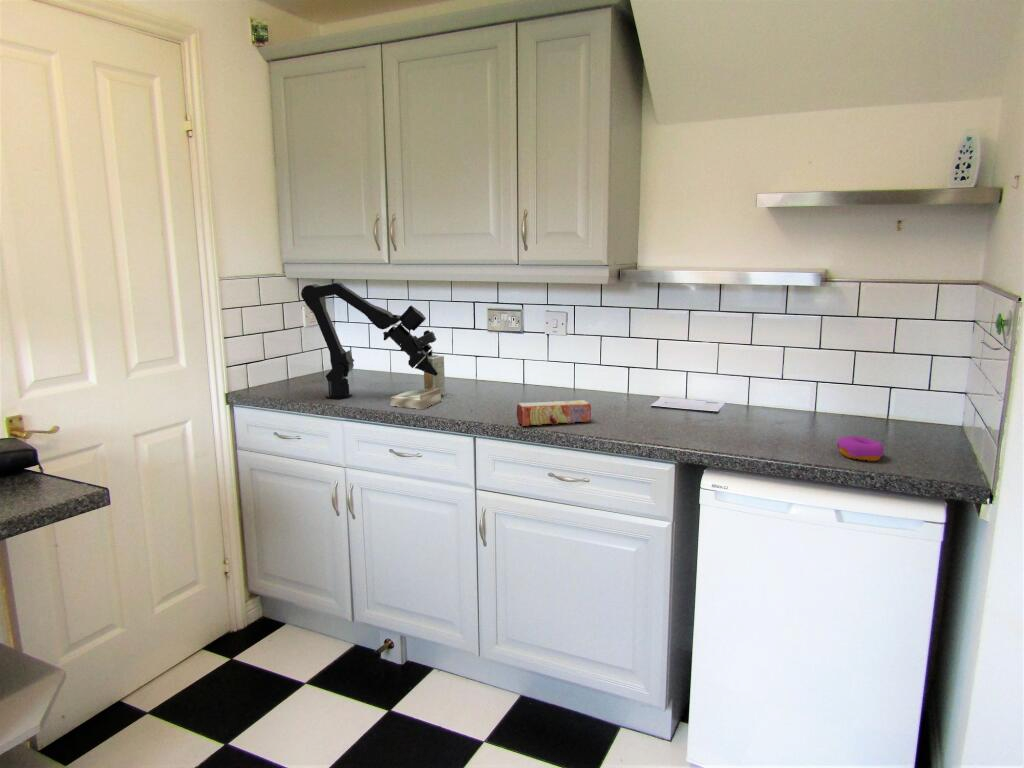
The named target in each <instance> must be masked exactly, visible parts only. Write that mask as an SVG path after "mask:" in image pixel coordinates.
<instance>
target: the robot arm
mask: <svg viewBox="0 0 1024 768" xmlns="http://www.w3.org/2000/svg"><path fill="white" fill-rule="evenodd" d="M300 295H301V298H302V299H303V301H304V303H305V305H306V306H307V308H309V309H310V311H311V312H312V314H313V315H314V318H315V320H316V321H317V322H316V323H317V325H318V327H319V331H321V332H320V333H321V334H322V337H323V340H324V341H325V343H326V346H327V349H328V351H329V360H330V365H331V369H330V371H329V372H328V373H327V374H326V375H325V377H326V381H327V385H328V394H327V395H325V398H328V399H336V400H341V399H345V398H348V397H352V395H353V394H352V393H350V384H349V379H348V378H347V377H349V373H351V372H352V370H353V368H354V366H355V365H354V362H355V359H354V358H353V356H352V352H351V350H347V351H346V350H345V349H344V348H343V345H342V343H341V342H340V339H339V336H338V334H337V331H336V329H335V327H334V324H333V322H332V319H331V317H330V315H329V312H328V309H327V302H326V301H327V300H326V297H330V296H336V297H338V298H339V299H341V300H343V301H344V302H345V303H347V304H349V306H352V307H353V308H354V309H356V310H358V311H359V312H360V313H361V314H364V315H365V317H367V319H368V320H369V321H370V322H371V323H372V324H373V325H374V326H375V327H376V328H377V329H379V330H387V329H389V330H388V331H383V333H382V334H383V341H387V340H388V339H389V338H390V339H391V340H392V341H393V342H394V343H395V344H396V345H397V346H398V347H399V348H400V351H401V352H404V353H406V355H407V356H409V358H408V359H409V360H408V364H407V365H408V366H409V367H411V369H416V370H419V371H422V372H423V373H424V372H427V373H429V374H432V375H435V376H436V375H437V374H438V373H437V371H436V370H435V369H434V367H433V366H432V365H431V363H430V362H429V360H428V356H433V347H432V346H431V344H432V343H434V342H436V341H437V338H436V336H435V332H433V331H430V330H429V329H427V330H425V331H423V335H421V336H419V337H418V336H417V335H412V334H411V333H410V332H411V331H415V330H417V329H418V327H420V326H421V325H422V324H423V323H424V322H425V321H426V319H427V317H426V316H425V315H424V314H423V313H422V312H421V311H420V310H418V309H417V308H416V307H414V306H413V305H409V306H408V308H407V309H406V310H405V311H404V312H403V313H402V314H401V315H400V314H393V313H392V312H391V311H389V310H387V309H385V308H382V307H380V306H378V305H377V306H376V305H374V304H373V303H371V302H369V301H367V299H365V298H363V297H361V296H360V295H359V294H357V293H356V292H355V291H352V290H351V289H350V288H349V287H347V286H346V285H345V284H343V283H342V282H341V281H339V282H338V281H337V282H334V283H330V284H325V285H319V284H316V283H313V284H308V285H305V286H303V288H302V290H301V292H300ZM399 322H400V323H399ZM398 323H399V324H398ZM392 325H393V326H392ZM394 325H397V326H394ZM409 331H410V332H409Z"/></svg>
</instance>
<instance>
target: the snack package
mask: <svg viewBox="0 0 1024 768" xmlns="http://www.w3.org/2000/svg"><path fill="white" fill-rule="evenodd" d="M591 412H592V407H591V403H590V402H588V401H587V400H583V399H580V400H579V399H578V400H561V401H560V400H557V401H540V402H539V401H537V402H519V403H518V404H517V405H516V418H517V422H518V424H519V423H520V424H521V425H522V426H527V425H538V426H543V425H542V424H552V425H559V424H558V423H567V424H576V423H575V422H588V423H590V422H591V418H592V413H591ZM520 424H519V425H520ZM521 425H520V426H521ZM522 426H521V427H522ZM527 427H528V426H527Z"/></svg>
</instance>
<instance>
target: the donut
mask: <svg viewBox="0 0 1024 768" xmlns="http://www.w3.org/2000/svg"><path fill="white" fill-rule="evenodd" d="M837 449H838V450H839V452H840V453H841V454H842V455H843V456H845V457H846V458H849V459H851V458H852V460H856V459H858V460H859V461H865V460H867V462H877V461H879V460H880V459H881V457H882V456H884V452H885V451H884V450H885V449H884V447H883V444H882V443H881V442H878V441H876V440H874V439H871V438H868V437H867V438H866V437H864V436H859V435H858V436H852V435H851V436H843V437H841V438H839V439H838V440H837ZM858 460H857V461H858Z"/></svg>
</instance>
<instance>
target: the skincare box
mask: <svg viewBox="0 0 1024 768" xmlns="http://www.w3.org/2000/svg"><path fill="white" fill-rule="evenodd" d="M428 360H429V362H430V363H431V365H432V366H433V367H434V369H435V370H436V371H437V373H438V374H437V375H436V376H435V375H432V374H429V373H427V372H424V371H423V384H424V386H423V387H424V388H423V389H424V391H427V392H430V391H432V390H434V389H437V388H441V392H443V391H446V381H445V380H446V379H445V356H444V355H438V354H432V356H428Z"/></svg>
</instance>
